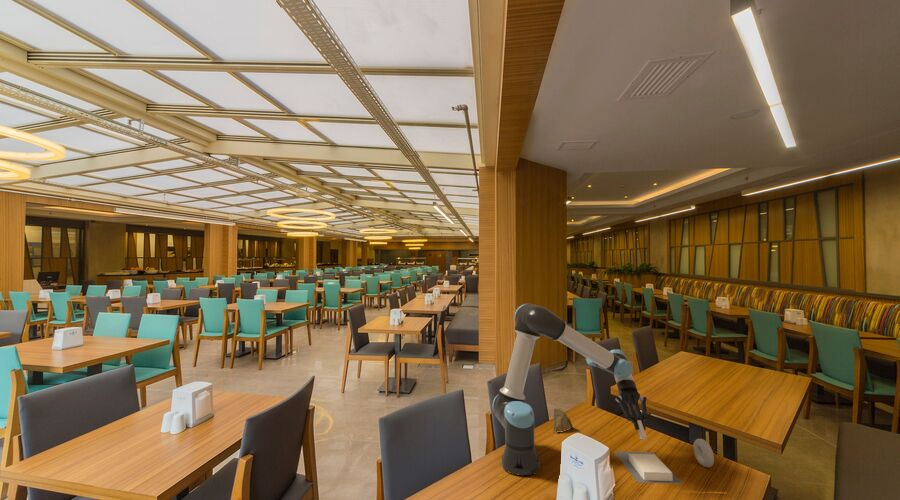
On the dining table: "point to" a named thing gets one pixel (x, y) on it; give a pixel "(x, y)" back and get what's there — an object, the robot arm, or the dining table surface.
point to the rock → (561, 421)
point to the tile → (650, 467)
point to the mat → (625, 460)
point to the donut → (703, 453)
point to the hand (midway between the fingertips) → (643, 438)
